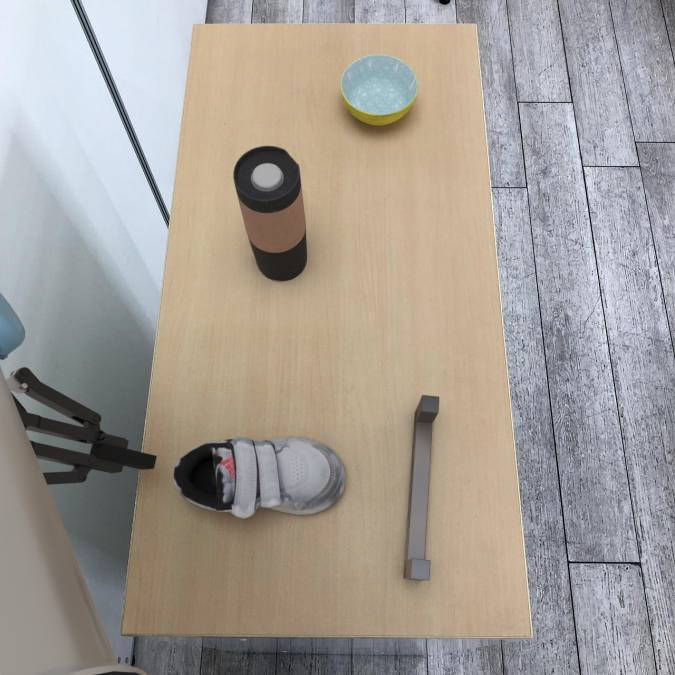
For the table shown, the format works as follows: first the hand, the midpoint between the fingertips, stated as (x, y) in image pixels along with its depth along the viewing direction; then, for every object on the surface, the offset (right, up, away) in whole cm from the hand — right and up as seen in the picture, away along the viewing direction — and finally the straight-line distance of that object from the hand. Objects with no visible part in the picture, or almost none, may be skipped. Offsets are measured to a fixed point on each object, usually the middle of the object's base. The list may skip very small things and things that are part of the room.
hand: (149, 462), depth 72 cm
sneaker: (+13, -3, +5) cm, 14 cm away
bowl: (+28, +49, +26) cm, 62 cm away
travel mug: (+14, +25, +17) cm, 33 cm away
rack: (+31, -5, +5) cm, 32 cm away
